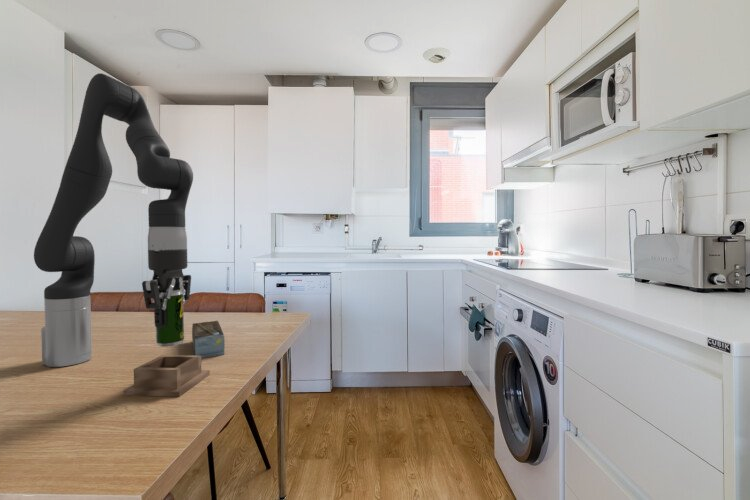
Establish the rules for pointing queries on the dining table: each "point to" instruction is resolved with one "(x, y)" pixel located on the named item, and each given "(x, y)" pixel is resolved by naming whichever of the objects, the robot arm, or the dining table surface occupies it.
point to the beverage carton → (208, 339)
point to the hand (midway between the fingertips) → (169, 323)
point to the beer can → (172, 321)
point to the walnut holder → (167, 376)
